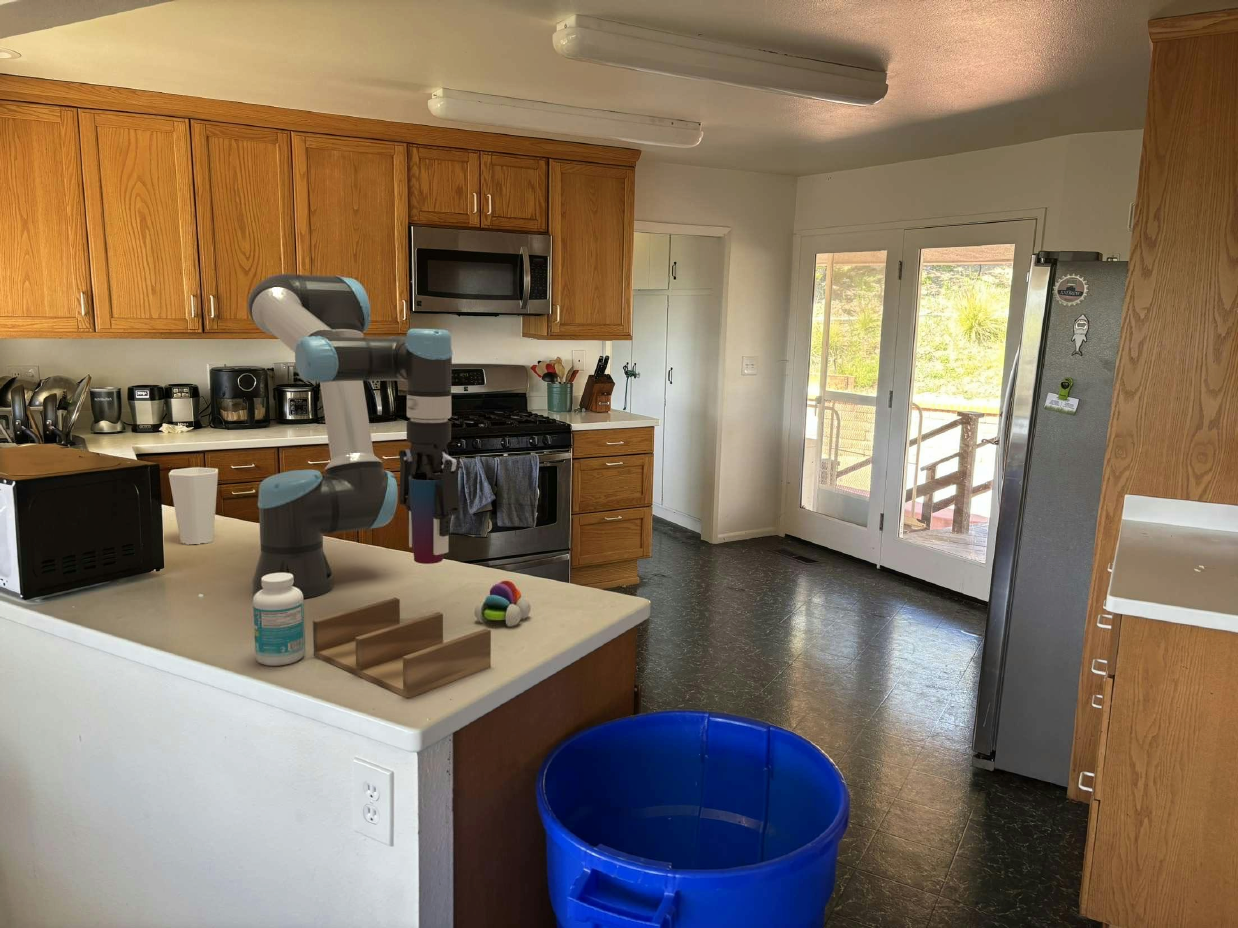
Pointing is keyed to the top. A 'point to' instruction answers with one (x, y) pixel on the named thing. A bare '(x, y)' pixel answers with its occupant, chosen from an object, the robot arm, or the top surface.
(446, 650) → the rack
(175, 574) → the top surface
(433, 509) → the cup
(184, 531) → the cup
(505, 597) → the rainbow disc stack
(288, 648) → the pill bottle
